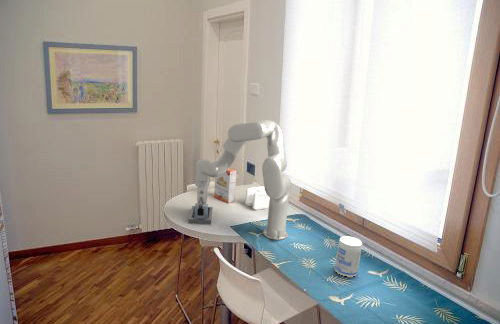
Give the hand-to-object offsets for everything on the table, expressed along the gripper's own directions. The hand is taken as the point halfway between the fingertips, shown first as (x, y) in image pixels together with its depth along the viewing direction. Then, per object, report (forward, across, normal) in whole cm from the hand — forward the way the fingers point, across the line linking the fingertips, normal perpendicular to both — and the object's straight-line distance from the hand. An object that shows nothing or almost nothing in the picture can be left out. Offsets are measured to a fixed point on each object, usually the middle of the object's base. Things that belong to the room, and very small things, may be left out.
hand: (201, 212), depth 205 cm
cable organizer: (+3, +21, -34) cm, 41 cm away
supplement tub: (+3, -54, -66) cm, 85 cm away
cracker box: (+3, +31, -12) cm, 34 cm away
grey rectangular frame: (+3, 0, 0) cm, 3 cm away
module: (+3, 0, 0) cm, 3 cm away
